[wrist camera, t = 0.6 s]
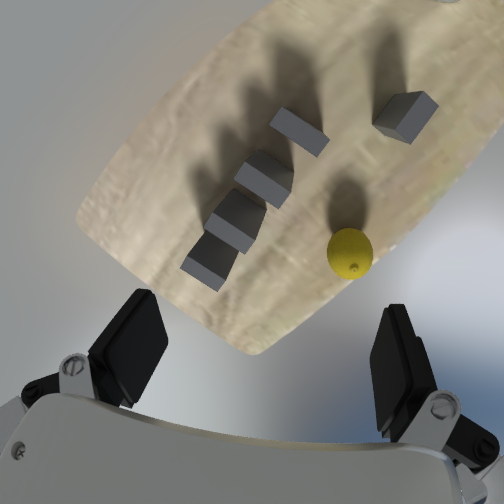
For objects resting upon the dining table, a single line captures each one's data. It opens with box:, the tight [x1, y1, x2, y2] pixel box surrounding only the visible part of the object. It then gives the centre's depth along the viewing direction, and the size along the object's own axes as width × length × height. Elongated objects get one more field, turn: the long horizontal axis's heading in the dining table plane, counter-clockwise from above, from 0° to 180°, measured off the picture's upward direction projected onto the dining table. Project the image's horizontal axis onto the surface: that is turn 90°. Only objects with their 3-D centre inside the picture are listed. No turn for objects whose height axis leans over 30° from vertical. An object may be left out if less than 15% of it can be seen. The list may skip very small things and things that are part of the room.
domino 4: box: [269, 107, 330, 157], centre depth 27 cm, size 2×5×9 cm, turn 58°
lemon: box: [327, 228, 373, 280], centre depth 33 cm, size 6×6×8 cm
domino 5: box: [372, 91, 439, 145], centre depth 24 cm, size 2×5×9 cm, turn 148°
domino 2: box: [203, 188, 267, 254], centre depth 32 cm, size 2×5×9 cm, turn 58°
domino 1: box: [234, 149, 294, 209], centre depth 30 cm, size 2×5×9 cm, turn 58°
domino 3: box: [180, 230, 239, 292], centre depth 35 cm, size 2×5×9 cm, turn 58°
